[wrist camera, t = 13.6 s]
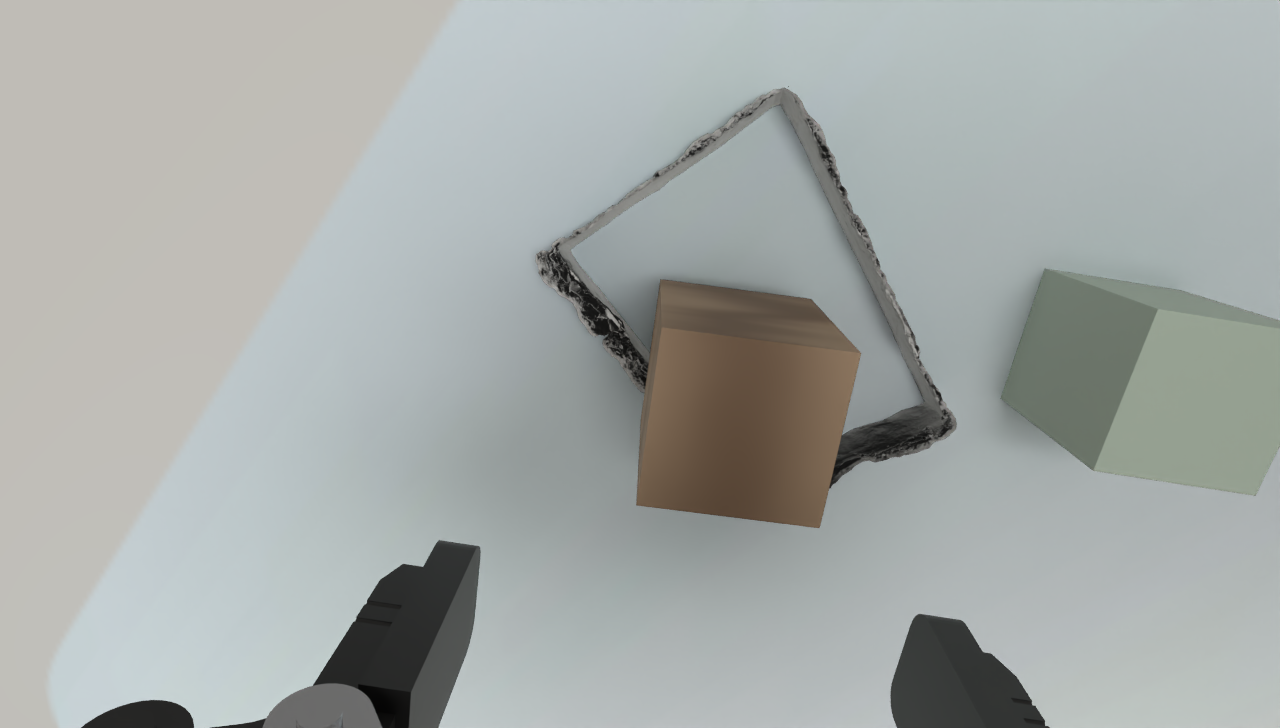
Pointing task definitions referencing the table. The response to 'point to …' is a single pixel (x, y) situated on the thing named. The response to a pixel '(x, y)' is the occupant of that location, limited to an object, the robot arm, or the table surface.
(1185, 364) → the sage block
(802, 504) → the walnut block
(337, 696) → the robot arm
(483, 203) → the table surface
